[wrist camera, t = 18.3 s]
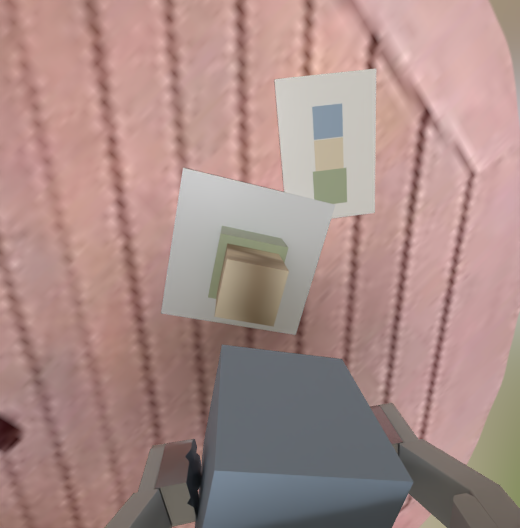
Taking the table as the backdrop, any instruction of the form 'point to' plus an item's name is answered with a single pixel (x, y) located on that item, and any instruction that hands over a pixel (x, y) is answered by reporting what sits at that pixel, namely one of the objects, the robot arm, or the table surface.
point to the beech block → (250, 285)
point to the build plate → (248, 215)
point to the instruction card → (329, 138)
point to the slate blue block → (295, 447)
